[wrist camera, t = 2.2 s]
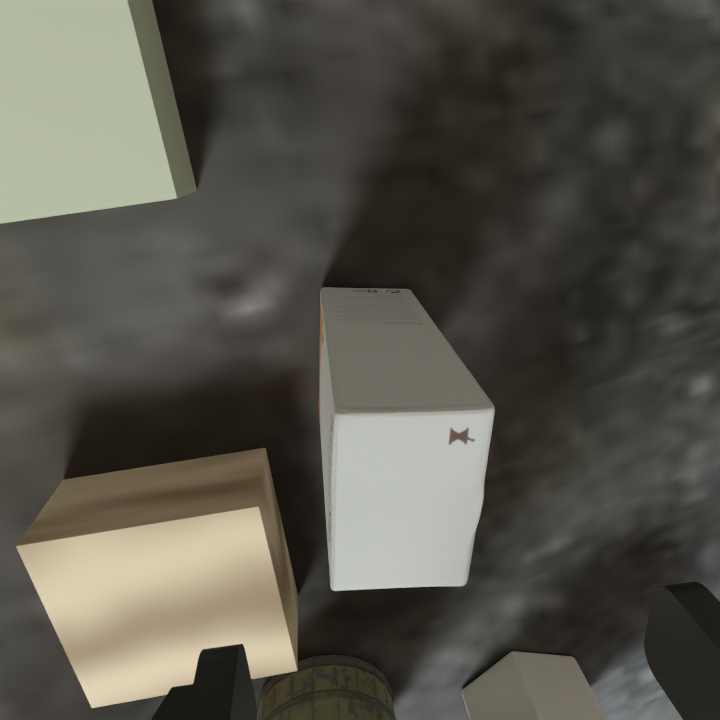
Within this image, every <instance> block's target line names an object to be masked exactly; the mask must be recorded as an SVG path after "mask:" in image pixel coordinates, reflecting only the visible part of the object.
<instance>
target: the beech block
mask: <svg viewBox="0 0 720 720" xmlns="http://www.w3.org/2000/svg"><path fill="white" fill-rule="evenodd" d="M16 548H17V550H18V552H19V554H20V556H21V558H22V560H23V562H24V565H25V567H26V569H27V571H28V573H29V575H30V577H31V579H32V582H33V584H34V586H35V588H36V590H37V592H38V594H39V597H40V599H41V601H42V603H43V605H44V607H45V609H46V611H47V614H48V616H49V618H50V620H51V622H52V624H53V626H54V628H55V631H56V633H57V635H58V637H59V639H60V641H61V643H62V645H63V648H64V650H65V652H66V654H67V656H68V658H69V660H70V663H71V665H72V667H73V669H74V671H75V673H76V675H77V677H78V680H79V682H80V684H81V686H82V688H83V690H84V692H85V694H86V697H87V699H88V701H89V703H90V705H91V707H92V708H95V707H101V706H106V705H112V704H117V703H123V702H128V701H134V700H139V699H145V698H151V697H156V696H162V695H167V694H168V692H169V691H170V689H171V687H177V686H184V685H191V684H193V683H194V678H195V673H196V668H197V663H198V658H199V655H200V653H201V651H202V650H203V649H209V648H216V647H223V646H230V645H237V644H243V645H244V648H245V652H246V657H247V662H248V666H249V671H250V676H251V679H256V678H261V677H267V676H272V675H278V674H283V673H289V672H294V671H298V594H297V589H296V585H295V580H294V575H293V571H292V566H291V562H290V557H289V553H288V548H287V543H286V539H285V534H284V530H283V525H282V521H281V516H280V511H279V507H278V502H277V498H276V493H275V489H274V484H273V479H272V475H271V470H270V466H269V461H268V456H267V452H266V448H260V449H254V450H248V451H241V452H235V453H229V454H222V455H216V456H210V457H204V458H197V459H191V460H185V461H178V462H172V463H166V464H159V465H153V466H147V467H140V468H134V469H128V470H122V471H115V472H109V473H103V474H96V475H90V476H84V477H77V478H71V479H65V480H63V481H62V482H61V484H60V485H59V487H58V488H57V489H56V491H55V492H54V494H53V495H52V496H51V498H50V499H49V501H48V502H47V503H46V505H45V506H44V508H43V509H42V510H41V512H40V513H39V515H38V516H37V517H36V519H35V520H34V522H33V523H32V524H31V526H30V527H29V529H28V530H27V531H26V533H25V534H24V536H23V537H22V538H21V540H20V541H19V543H18V544H17V545H16Z"/></svg>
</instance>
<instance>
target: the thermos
mask: <svg viewBox="0 0 720 720" xmlns="http://www.w3.org/2000/svg"><path fill="white" fill-rule="evenodd" d="M257 720H396V718H395V715H394V709H393V696H392V690H391V687H390V685H389V683H388V681H387V678H386V676H385V675H384V674H383V673H382V672H381V671H379V670H378V669H377V668H376V667H375V666H374V665H373V664H370V663H368V662H366V661H363V660H361V659H358V658H356V657H350V656H343V655H335V654H333V655H323V656H313V657H309V658H306V659H303V660H300V661H298V671H294V672H289V673H283V674H278V675H273V677H272V678H271V679H270V680H269V681H268V682H267V684H266V685H265V686H264V687H263V688H262V691H261V694H260V697H259V700H258V703H257Z"/></svg>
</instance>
